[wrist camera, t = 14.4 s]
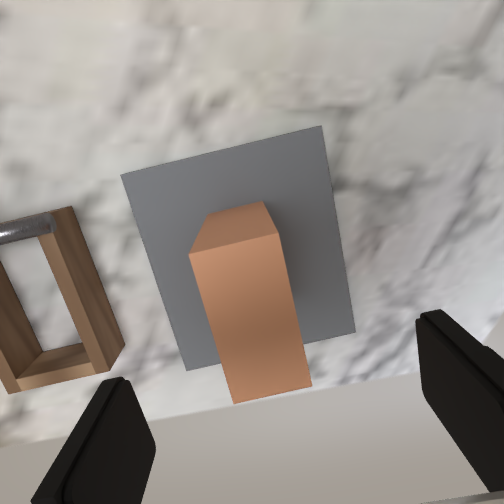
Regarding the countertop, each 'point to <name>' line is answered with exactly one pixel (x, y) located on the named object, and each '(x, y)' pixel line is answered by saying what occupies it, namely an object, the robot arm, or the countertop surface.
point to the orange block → (249, 303)
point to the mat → (234, 195)
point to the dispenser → (76, 298)
